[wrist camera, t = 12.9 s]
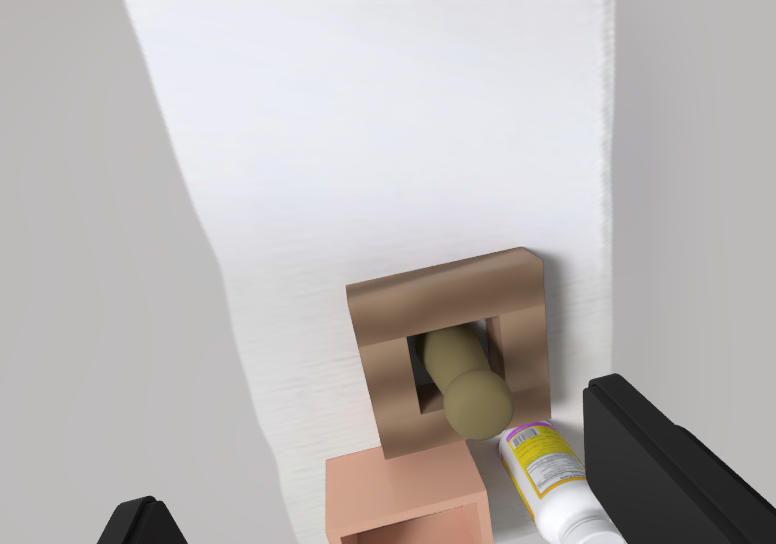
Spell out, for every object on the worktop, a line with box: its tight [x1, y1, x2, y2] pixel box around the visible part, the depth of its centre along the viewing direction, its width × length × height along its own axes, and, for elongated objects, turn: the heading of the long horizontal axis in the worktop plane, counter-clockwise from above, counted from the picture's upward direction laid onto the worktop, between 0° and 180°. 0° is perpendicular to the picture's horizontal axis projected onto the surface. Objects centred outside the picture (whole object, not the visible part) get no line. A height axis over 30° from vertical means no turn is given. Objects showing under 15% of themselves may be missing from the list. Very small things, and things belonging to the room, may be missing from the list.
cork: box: [415, 322, 515, 440], centre depth 35 cm, size 6×6×11 cm
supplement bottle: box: [499, 420, 625, 544], centre depth 39 cm, size 7×7×13 cm
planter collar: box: [325, 440, 494, 544], centre depth 41 cm, size 12×14×8 cm
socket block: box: [346, 247, 551, 460], centre depth 38 cm, size 16×16×4 cm
